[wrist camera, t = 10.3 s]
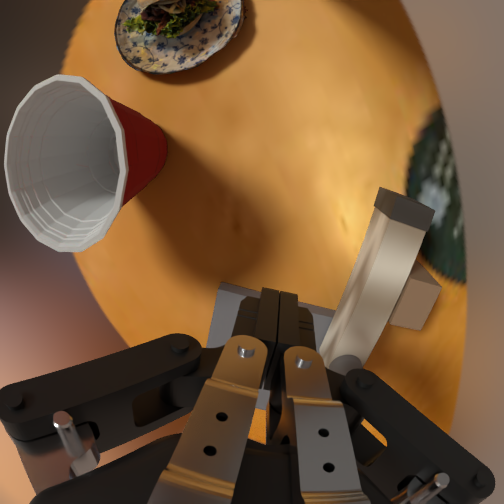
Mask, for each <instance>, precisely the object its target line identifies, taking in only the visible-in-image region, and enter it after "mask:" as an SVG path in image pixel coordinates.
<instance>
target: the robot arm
mask: <svg viewBox="0 0 504 504" xmlns="http://www.w3.org/2000/svg"><path fill="white" fill-rule="evenodd" d="M313 324H314V321H313V315H312V314H311V312H310V311H309V310H308V308H305V307H299V306H298V295H297V294H293V293H289V292H284V291H280V293H279V290H274V289H269V288H264V287H262V290H261V295H260V298H256V297H251V296H247V297H245V298H244V299H243V300H242V301H241V303H240V306H239V310H238V313H237V317H236V321H235V324H234V328H233V332H232V335H231V338H230V339H229V340H228V341H227V342H226V344H225V345H223V346H220V347H216V348H202V347H201V345H200V343H199V342H198V341H197V340H196V339H195V338H193V337H191V336H189V335H186V334H179V333H175V334H169V335H166V336H163V337H161V338H158V339H155V340H152V341H149V342H146V343H143V344H140V345H137V346H134V347H131V348H128V349H126V350H123V351H120V352H116V353H113V354H110V355H107V356H104V357H101V358H98V359H95V360H92V361H88V362H85V363H82V364H79V365H75V366H72V367H69V368H66V369H62V370H59V371H56V372H52V373H49V374H45V375H42V376H38V377H35V378H32V379H28V380H24V381H20V382H17V383H13V384H10V385H7V386H5V387H3V388H2V389H0V420H1V422H2V423H3V425H4V427H5V430H6V432H7V433H8V435H9V436H10V438H11V439H12V441H13V442H14V444H15V445H16V447H17V450H18V453H19V455H20V458H21V461H22V463H23V465H24V468H25V470H26V473H27V475H28V477H29V479H30V482H31V484H32V486H33V488H34V491H35V492H36V496H35V497H34V498H33V499H32V501H31V502H30V504H479V503H480V502H482V501H483V500H484V499H486V498H487V497H488V496H490V495H491V494H492V492H493V490H494V488H495V478H494V475H493V473H492V472H491V470H490V469H489V468H488V467H487V466H485V465H484V464H483V463H481V462H480V461H479V460H478V459H477V458H475V457H474V456H473V455H472V454H471V453H469V452H468V451H467V450H466V449H464V448H463V447H462V446H460V444H458V443H457V442H456V441H455V440H453V439H452V438H451V437H450V436H449V435H447V434H446V433H445V432H444V431H443V430H441V429H440V428H439V427H438V426H437V425H435V424H434V423H433V422H432V421H430V420H429V419H428V418H427V417H426V416H424V415H423V414H422V413H421V412H420V411H418V410H417V409H416V408H415V407H414V406H412V405H411V404H410V403H409V402H408V401H406V400H405V399H404V398H403V397H402V396H400V395H399V394H398V393H397V392H396V391H395V390H393V389H392V388H391V387H390V386H389V385H387V384H386V383H385V382H384V381H383V380H381V379H380V378H379V377H378V376H377V375H375V374H374V373H372V372H371V371H368V370H365V369H359V368H358V369H352V370H350V371H348V372H347V374H346V376H345V375H342V374H339V373H337V372H334V371H332V370H330V369H328V368H327V367H325V365H324V361H323V358H322V357H321V355H320V354H319V353H317V350H316V340H315V331H314V325H313ZM263 383H264V387H263V390H269V391H270V397H269V400H268V402H267V405H266V445H264V444H261V443H258V442H256V441H253V440H250V439H248V434H249V430H250V427H251V423H252V419H253V415H254V411H255V406H256V402H257V398H258V394H259V392H258V390H259V389H262V386H263ZM192 410H193V411H192ZM191 411H192V413H191V415H190V418H189V420H188V422H187V424H186V426H185V429H184V431H183V433H179V434H173V435H169V436H165V437H162V438H159V439H157V440H155V441H153V442H151V443H149V444H147V445H145V446H143V447H141V448H139V449H137V450H135V451H134V452H131V453H129V454H127V455H125V456H123V457H121V458H118V459H116V460H114V461H112V462H110V463H108V464H106V465H103V466H101V467H99V468H96V469H94V468H95V467H96V466H97V465H98V463H99V461H100V453H102V452H105V451H107V450H110V449H112V448H115V447H117V446H119V445H122V444H124V443H126V442H128V441H131V440H133V439H136V438H138V437H140V436H142V435H144V434H147V433H149V432H151V431H153V430H155V429H157V428H159V427H162V426H164V425H166V424H167V423H170V422H172V421H174V420H176V419H178V418H180V417H182V416H184V415H186V414H188V413H189V412H191ZM364 418H365V419H366V420H367V421H368V422H369V423H370V424H371V425H372V426H373V427H374V428H375V429H376V430H378V431H379V432H380V433H381V434H382V435H383V436H384V437H385V438H386V440H387V447H386V446H384V445H383V444H382V443H381V442H380V441H379V440H378V439H377V438H376V437H375V436H373V435H372V434H371V433H370V432H369V431H368V430H367V429H366V428H365V427H364V426H363V425H362V424H361V423H362V421H363V420H364ZM93 469H94V470H93Z"/></svg>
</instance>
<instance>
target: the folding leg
mask: <svg viewBox="0 0 504 504" xmlns="http://www.w3.org/2000/svg"><path fill="white" fill-rule="evenodd" d="M374 206H375V208H374V211H373V214H372V217H371V220H370V223H369V226H368V229H367V232H366V235H365V238H364V241H363V243H362V246H361V249H360V252H359V254H358V257H357V260H356V262H355V265H354V268H353V270H352V273H351V275H350V278H349V280H348V283H347V286H346V288H345V291H344V293H343V295H342V298H341V300H340V303H339V305H338V308H337V310H336V312H335V315H334V317H333V319H332V322H331V324H330V326H329V328H328V331H327V333H326V335H325V337H324V340H323V342H322V344H321V346H320V348H319V351H320V355H321V357H322V358H323V361H324V365H325V367H327V368H328V369H330V370H332V371H334V372H337V373H339V374H342V375H345V376H346V374H347V372H348V371H350V370H352V369H358V368H359V369H363V366H364V364H365V362H366V361H367V359H368V357H369V355H370V353H371V352H372V350H373V348H374V346H375V344H376V342H377V340H378V338H379V337H380V335H381V333H382V331H383V329H384V327H385V325H386V323H387V321H388V319H389V317H390V315H391V313H392V311H393V309H394V306H395V304H396V302H397V300H398V298H399V296H400V294H401V291H402V289H403V287H404V285H405V282H406V280H407V278H408V275H409V273H410V271H411V268H412V266H413V264H414V261H415V259H416V256H417V254H418V251H419V249H420V246H421V244H422V241H423V238H424V236H425V233H426V231H427V232H428V230H429V227H430V225H431V222H432V219H433V216H434V213H435V210H433V209H431V208H429V207H428V206H426V205H424V204H422V203H420V202H418V201H416V200H414V199H412V198H409V197H407V196H404V195H401V194H399V193H396V192H393V191H390V190H388V189H385V188H382V187H380V188H379V191H378V194H377V197H376V200H375V203H374Z"/></svg>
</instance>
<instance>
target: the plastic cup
mask: <svg viewBox="0 0 504 504" xmlns="http://www.w3.org/2000/svg"><path fill="white" fill-rule="evenodd" d="M167 153H168V151H167V140H166V138H165V136H164V134H163V132H162V130H161V129H160V127H158V126H157V125H156V124H155V123H153V122H152V121H151V120H149V119H148V118H146V117H144V116H143V115H141V114H140V113H139V112H137V111H135V110H133V109H131V108H129V107H127V106H125V105H123V104H121V103H119V102H116V101H114V100H112V99H111V98H110V97H108V96H107V95H105V94H104V93H102V92H101V91H100V90H99V89H98V88H96V87H95V86H94V85H93V84H91V83H90V82H89V81H88V80H86V79H85V78H83V77H78V76H69V75H58V74H57V75H55V76H53V77H51V78H49V79H47V80H45V81H43V82H41V83H39V84H37V85H35V86H34V87H33V88H32V89H31V91H30V92H29V93H28V94H27V95H26V97H25V98H24V99H23V101H22V102H21V103H20V104H19V106H18V107H17V109H16V112H15V114H14V117H13V119H12V122H11V124H10V127H9V130H8V133H7V139H6V149H5V160H4V167H5V173H6V180H7V186H8V192H9V195H10V198H11V200H12V202H13V205H14V207H15V209H16V212H17V214H18V216H19V218H20V220H21V221H22V223H23V224H24V225H25V226H26V227H27V229H28V230H29V231H30V232H31V233H32V235H33V236H34V237H35V238H36V239H37V240H38V241H40V242H41V243H43V244H45V245H47V246H49V247H51V248H52V249H54V250H56V251H58V252H82V251H84V250H85V249H87V248H88V247H90V246H92V245H93V244H95V243H96V242H98V241H99V240H101V239H103V238H104V236H105V235H106V233H107V231H108V230H109V228H110V226H111V224H112V223H113V221H114V219H115V218H116V216H117V214H118V213H119V211H120V209H121V208H122V207H123V206H124V205H125V204H126V203H127V202H128V201H129V200H130V199H132V198H133V197H134V196H135V195H136V194H137V193H139V192H140V191H141V190H142V189H143V188H144V187H146V185H147V184H148V183H149V182H150V181H151V180H153V179H154V178H155V177H156V176H157V174H158V173H159V172H160V170H161V169H162V168H163V166H164V164H165V160H166V157H167Z"/></svg>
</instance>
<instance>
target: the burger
mask: <svg viewBox="0 0 504 504" xmlns="http://www.w3.org/2000/svg"><path fill="white" fill-rule="evenodd" d="M245 8H246V7H245V6H244V0H125V1H124V2H123V4H122V6H121V8H120V10H119V13H118V16H117V19H116V23H115V32H114V35H115V40H116V45H117V46H116V47H117V49H118V51H119V53H120V54H121V57H122V59H123V60H124V61H125V62H126V63H127V64H128V65H129V66H130V67H132V68H134V69H135V70H138V71H143V72H148V73H151V74H171V73H174V72H178V71H182V70H186V69H191V68H194V67H197V66H199V65H200V64H202V63H203V62H204V61H206V60H207V59H208V58H209V57H211V56H212V55H214V54H215V53H216V52H218V51H219V50H221V49H223V48H224V47H225V46H226V45H227V43H228V42H229V41H230V40H231V39H233V38H234V37H236V36H237V35H238V33H239V31H240V30H241V27H242V24H243V21H244V18H247V17H246V16H245V15H244V14H245V12H246V11H248V10H247V9H245Z"/></svg>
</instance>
